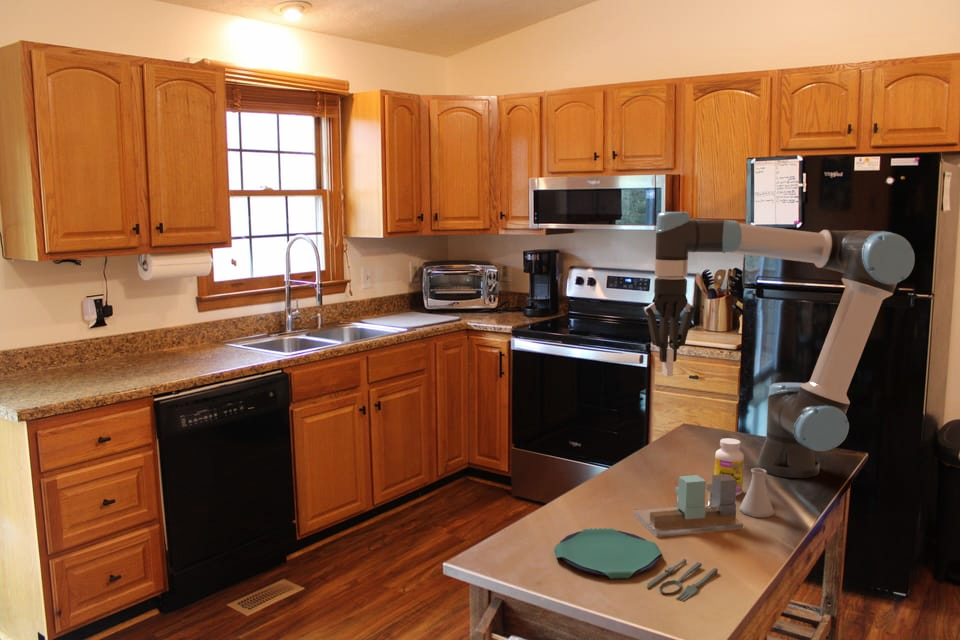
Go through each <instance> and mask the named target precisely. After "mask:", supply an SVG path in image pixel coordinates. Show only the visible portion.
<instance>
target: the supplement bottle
mask: <svg viewBox="0 0 960 640" xmlns="http://www.w3.org/2000/svg"><path fill="white" fill-rule="evenodd" d="M719 447H720V448H719V449H717V450H716V451H715V455H714V470H713V471H714V473H713V475H722V474H728V475H730V476H731V477H733V478H734V479H736V496H740V495H741V494H742V492H743V483H744V482H743V481H744V479H743V477H744V464H745V454H744V452H742V451H741V450H740V448H741V447H742V446H741V441H740V440H738V439H737V438H729V437H727V438H721V439H720V441H719Z"/></svg>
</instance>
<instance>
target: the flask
mask: <svg viewBox="0 0 960 640" xmlns="http://www.w3.org/2000/svg"><path fill="white" fill-rule="evenodd" d="M750 472H751V474H752V475H751V480H750V485H749V486H748V489H747V492H746V494H745V496H744V497H743V500H742V502H741V504H740V506H739V510H740V511H741V512H742V513H743V514H744V515H747V516H749V517H753V518H770V517H771V516H773V515H775V511H774V509H773V505H772V502H771V498H770V497H769V496H770V495H769V493H768V489H767V483H766V474H768V473H767V471H766V470H764V469H761V468H759V467H754V468H751V469H750Z"/></svg>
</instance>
